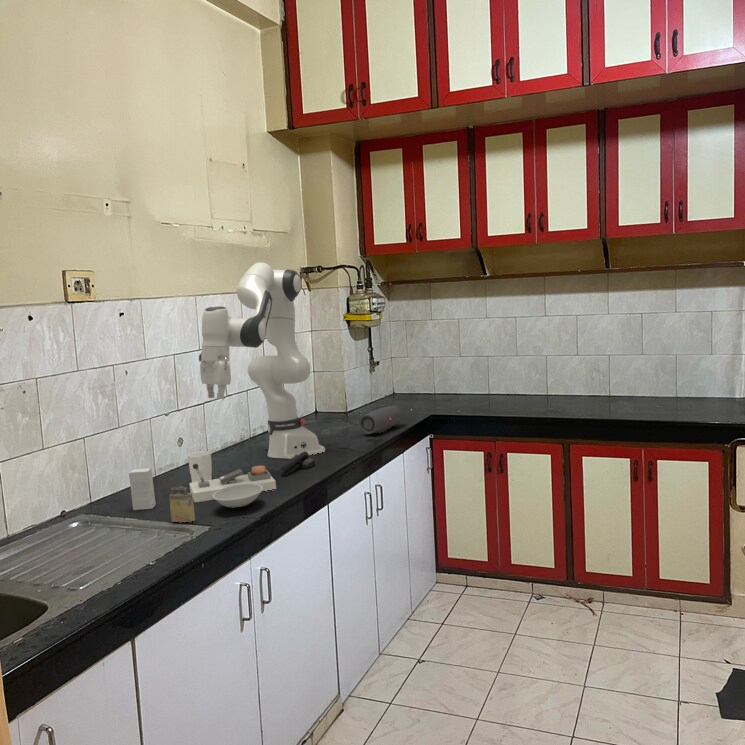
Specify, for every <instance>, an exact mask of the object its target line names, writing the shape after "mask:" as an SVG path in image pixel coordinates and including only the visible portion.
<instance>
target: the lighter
mask: <svg viewBox="0 0 745 745" xmlns="http://www.w3.org/2000/svg"><path fill="white" fill-rule="evenodd" d="M177 491H178V492H177ZM188 491H189V487H187V486H186V487H184V486H182V485H181V486H177V487H176V486H174V487H171V488H170V492H171V493H170V494H169V495H168V496H169V508H170V510H169V511H170V517H171V518H170V519H171V521H172V522H171V523H173V522H179V523H178V524H185V522H189V523H192V521H193V522H196V517H195V516H196V515H195V505H194V500H193V497H192V493H191V492H188ZM182 522H184V523H182Z"/></svg>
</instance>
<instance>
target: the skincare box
mask: <svg viewBox="0 0 745 745" xmlns="http://www.w3.org/2000/svg"><path fill="white" fill-rule="evenodd" d="M128 477H129V484H130V494H131V501H132V503H131V504H132V510H133V511H139V510H140V511H141V510H151V509H153V508H154V507H155V506H156V498H155V490H154V479H153V472H152V468H151V467H150V468H138V469H137V468H135V469H132V470H130V471H129V472H128Z"/></svg>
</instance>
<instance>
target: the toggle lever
mask: <svg viewBox="0 0 745 745" xmlns="http://www.w3.org/2000/svg"><path fill="white" fill-rule="evenodd" d="M193 468H194V469H195V470H196V472H197V474H198V476H199V478H200V480H201V481H202V482H204V478H203V476H202V474H201V472H200V470H199V468H198V464H193Z"/></svg>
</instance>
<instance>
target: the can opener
mask: <svg viewBox="0 0 745 745" xmlns="http://www.w3.org/2000/svg"><path fill="white" fill-rule="evenodd" d="M315 464H316V460H315V459H313V458H311V457H310V455H308V453H307V452H302V453H300V454H297V455H296V454H295V457H293V458H292V459H288V460H287V461H286V462H285V463H284V464H283V465H281V467H280V470H282V472H281V473H280V476H281V477H286V476H285V475H287V476H289V475H290V474H293V472H295V470H297V469H298V468H301V469H306V468H308V469H310V468H309V467H311V466H312V467H313V466H314V465H315ZM312 467H311V468H312ZM289 473H290V474H289ZM288 474H289V475H288Z"/></svg>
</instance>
